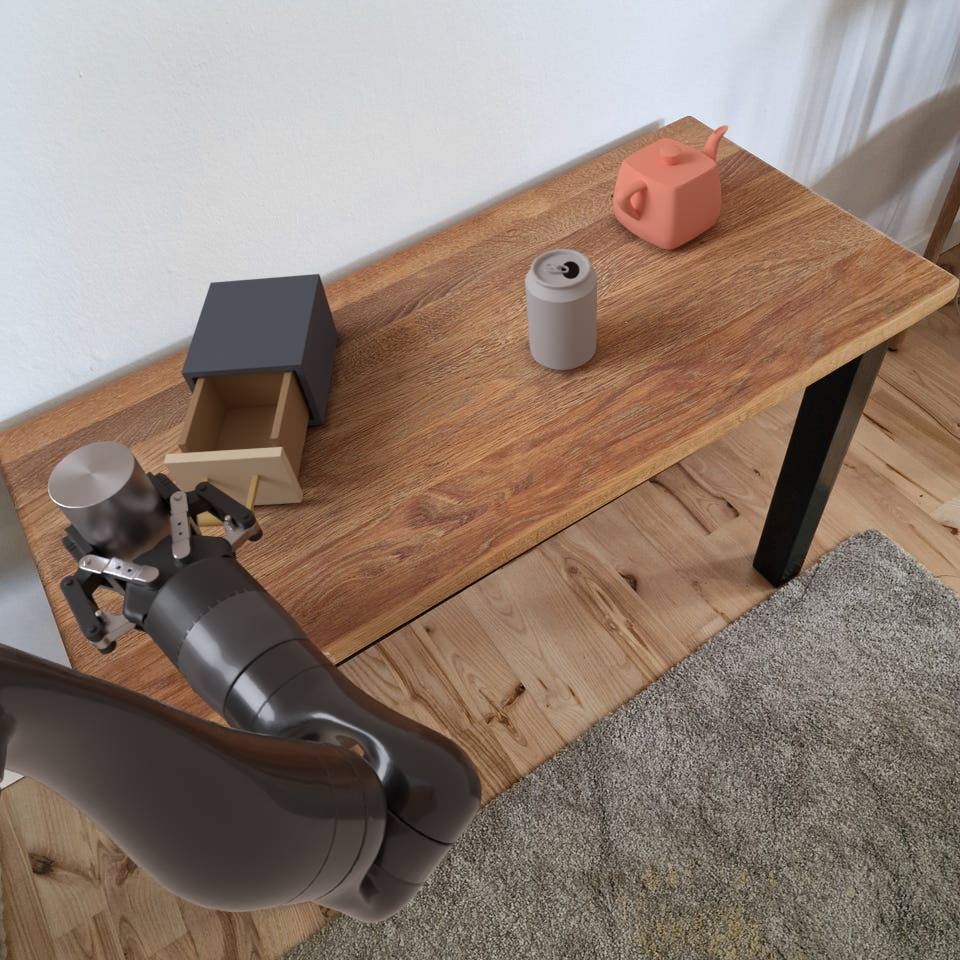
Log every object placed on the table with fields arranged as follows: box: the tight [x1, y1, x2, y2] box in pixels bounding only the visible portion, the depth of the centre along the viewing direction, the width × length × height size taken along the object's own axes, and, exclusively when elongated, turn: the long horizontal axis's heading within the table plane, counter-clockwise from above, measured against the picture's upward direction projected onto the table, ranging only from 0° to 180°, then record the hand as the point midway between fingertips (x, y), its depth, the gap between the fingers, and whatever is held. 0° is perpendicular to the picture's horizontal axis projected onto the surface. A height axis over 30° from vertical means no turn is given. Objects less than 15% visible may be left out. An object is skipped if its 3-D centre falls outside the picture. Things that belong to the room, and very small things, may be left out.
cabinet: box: [180, 273, 339, 427], centre depth 92 cm, size 15×13×9 cm
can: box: [524, 248, 598, 371], centre depth 89 cm, size 8×8×12 cm
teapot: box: [612, 124, 729, 251], centre depth 103 cm, size 12×18×10 cm, turn 126°
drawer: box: [163, 370, 310, 528], centre depth 83 cm, size 19×11×7 cm, turn 0°
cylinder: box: [47, 440, 172, 563], centre depth 64 cm, size 6×6×17 cm
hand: (112, 507), depth 63 cm, fingers closed on cylinder, 6 cm apart
